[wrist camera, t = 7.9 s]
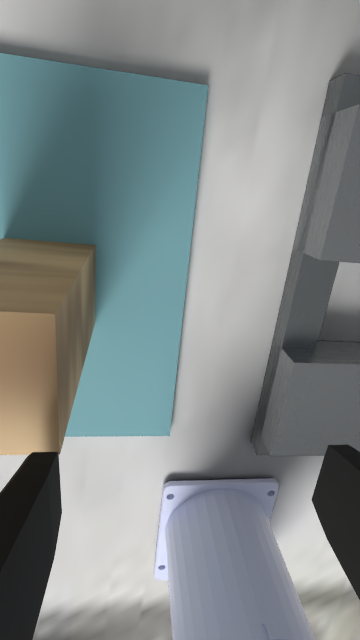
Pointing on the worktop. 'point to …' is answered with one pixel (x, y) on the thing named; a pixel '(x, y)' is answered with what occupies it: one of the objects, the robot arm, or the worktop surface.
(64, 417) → the oak peg
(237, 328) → the worktop surface
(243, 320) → the worktop surface
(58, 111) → the teal mat
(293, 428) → the vise
